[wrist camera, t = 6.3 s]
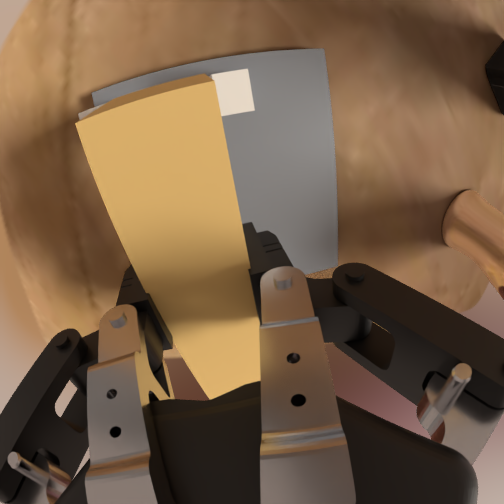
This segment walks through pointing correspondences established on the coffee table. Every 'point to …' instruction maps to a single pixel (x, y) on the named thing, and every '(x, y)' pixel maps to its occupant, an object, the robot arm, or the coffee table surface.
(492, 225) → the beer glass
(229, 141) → the board
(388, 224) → the coffee table surface
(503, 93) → the portable radio
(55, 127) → the coffee table surface
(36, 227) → the coffee table surface
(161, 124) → the bar
